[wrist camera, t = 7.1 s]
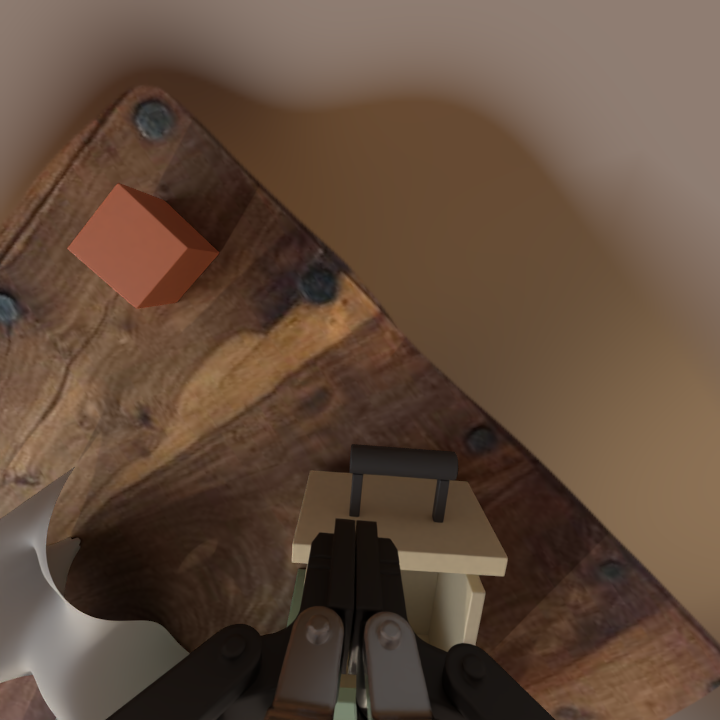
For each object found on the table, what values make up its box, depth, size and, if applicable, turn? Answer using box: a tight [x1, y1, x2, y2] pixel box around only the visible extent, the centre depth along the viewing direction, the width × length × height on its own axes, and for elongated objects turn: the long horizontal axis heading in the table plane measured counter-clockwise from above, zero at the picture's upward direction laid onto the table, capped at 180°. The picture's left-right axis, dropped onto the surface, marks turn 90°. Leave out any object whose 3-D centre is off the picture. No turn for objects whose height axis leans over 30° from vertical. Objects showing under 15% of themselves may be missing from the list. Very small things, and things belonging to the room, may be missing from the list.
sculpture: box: [0, 467, 190, 720], centre depth 25 cm, size 25×19×10 cm
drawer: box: [292, 444, 508, 688], centre depth 24 cm, size 18×11×7 cm, turn 175°
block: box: [67, 183, 219, 309], centre depth 21 cm, size 4×4×4 cm
